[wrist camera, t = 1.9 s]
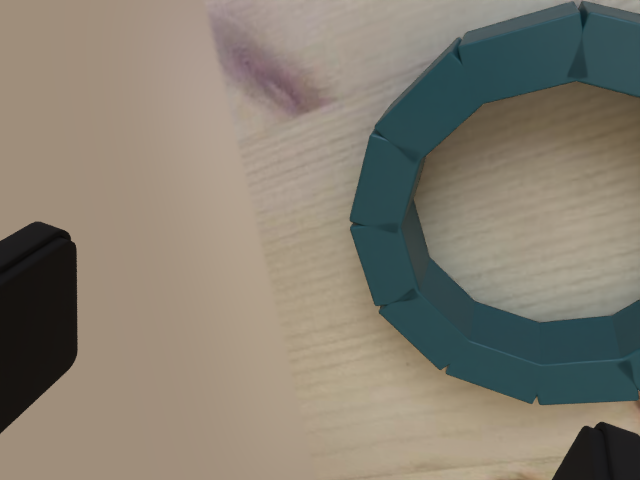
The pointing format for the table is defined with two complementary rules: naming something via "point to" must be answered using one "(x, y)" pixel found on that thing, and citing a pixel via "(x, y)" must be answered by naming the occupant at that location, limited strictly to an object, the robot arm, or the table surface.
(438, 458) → the table surface
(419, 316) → the ring
